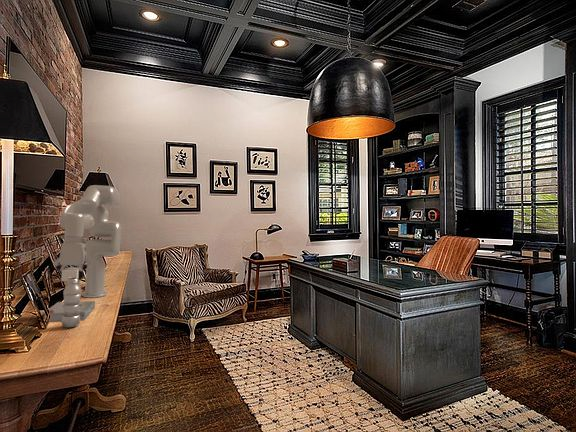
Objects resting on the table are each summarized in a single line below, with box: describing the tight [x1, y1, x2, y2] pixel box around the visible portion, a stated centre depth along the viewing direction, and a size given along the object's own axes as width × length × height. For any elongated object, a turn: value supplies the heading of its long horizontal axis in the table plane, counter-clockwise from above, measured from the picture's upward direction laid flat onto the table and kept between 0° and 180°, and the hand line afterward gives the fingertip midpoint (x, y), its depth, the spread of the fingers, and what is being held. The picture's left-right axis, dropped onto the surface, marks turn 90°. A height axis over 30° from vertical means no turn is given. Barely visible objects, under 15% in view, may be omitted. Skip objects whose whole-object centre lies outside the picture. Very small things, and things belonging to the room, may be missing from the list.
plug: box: [60, 267, 82, 286], centre depth 165 cm, size 11×6×8 cm, turn 17°
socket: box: [48, 300, 96, 322], centre depth 164 cm, size 20×16×4 cm
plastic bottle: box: [60, 278, 83, 329], centre depth 147 cm, size 6×7×20 cm
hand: (71, 279), depth 164 cm, fingers closed on plug, 6 cm apart
